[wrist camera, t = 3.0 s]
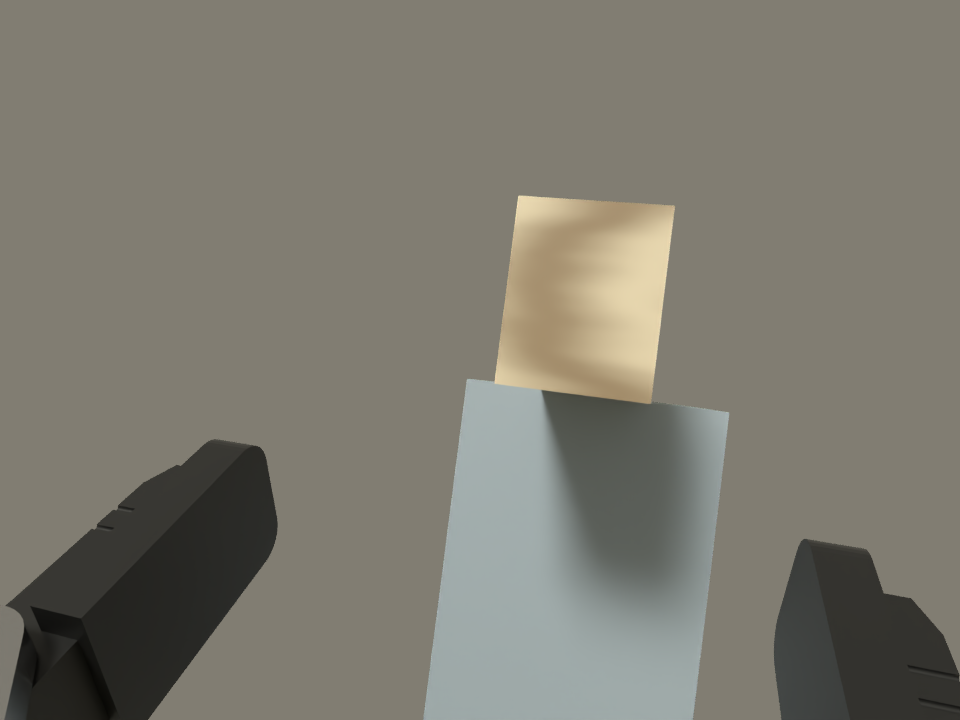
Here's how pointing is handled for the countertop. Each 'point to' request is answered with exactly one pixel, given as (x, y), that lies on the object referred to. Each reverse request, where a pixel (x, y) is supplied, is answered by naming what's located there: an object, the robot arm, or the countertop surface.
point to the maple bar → (585, 297)
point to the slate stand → (575, 558)
